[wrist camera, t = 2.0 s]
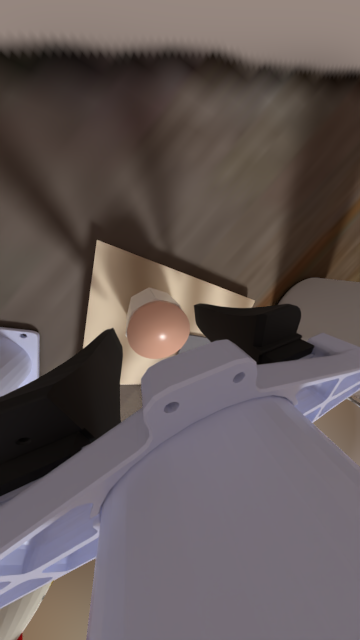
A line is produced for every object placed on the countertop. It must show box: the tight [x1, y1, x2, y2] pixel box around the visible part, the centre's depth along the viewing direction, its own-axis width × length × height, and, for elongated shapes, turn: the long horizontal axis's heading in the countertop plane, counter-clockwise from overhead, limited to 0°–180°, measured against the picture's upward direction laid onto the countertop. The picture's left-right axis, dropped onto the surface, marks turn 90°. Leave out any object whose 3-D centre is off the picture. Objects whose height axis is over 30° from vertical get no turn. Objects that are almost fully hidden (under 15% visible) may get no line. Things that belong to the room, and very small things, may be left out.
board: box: [83, 240, 255, 385], centre depth 18 cm, size 20×16×2 cm
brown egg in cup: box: [125, 287, 190, 359], centre depth 13 cm, size 5×5×5 cm
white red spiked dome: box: [0, 580, 54, 640], centre depth 20 cm, size 14×14×15 cm
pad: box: [177, 334, 211, 355], centre depth 20 cm, size 8×8×1 cm
